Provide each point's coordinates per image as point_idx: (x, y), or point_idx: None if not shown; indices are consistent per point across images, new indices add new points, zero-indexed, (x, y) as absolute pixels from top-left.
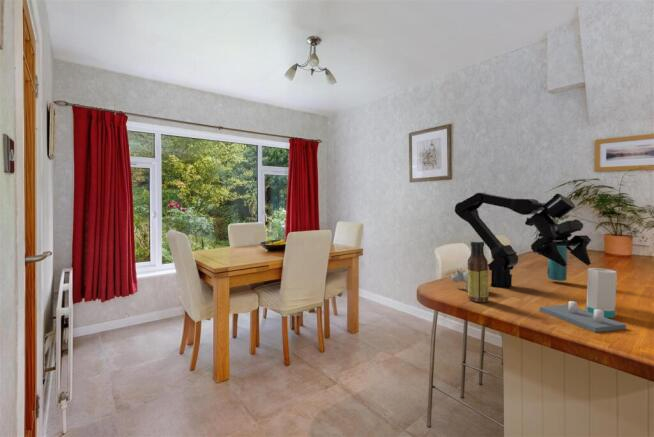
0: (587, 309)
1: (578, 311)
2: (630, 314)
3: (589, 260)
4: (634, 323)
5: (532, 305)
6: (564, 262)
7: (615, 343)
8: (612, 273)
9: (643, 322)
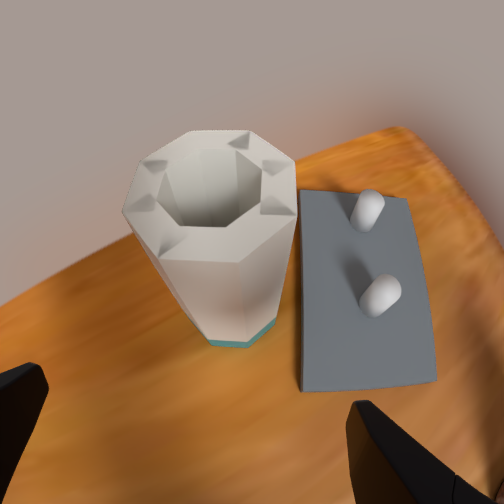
0: (271, 323)
1: (338, 309)
2: (129, 274)
3: (8, 372)
4: None
5: None
6: (381, 414)
7: (402, 164)
8: (228, 135)
9: None
